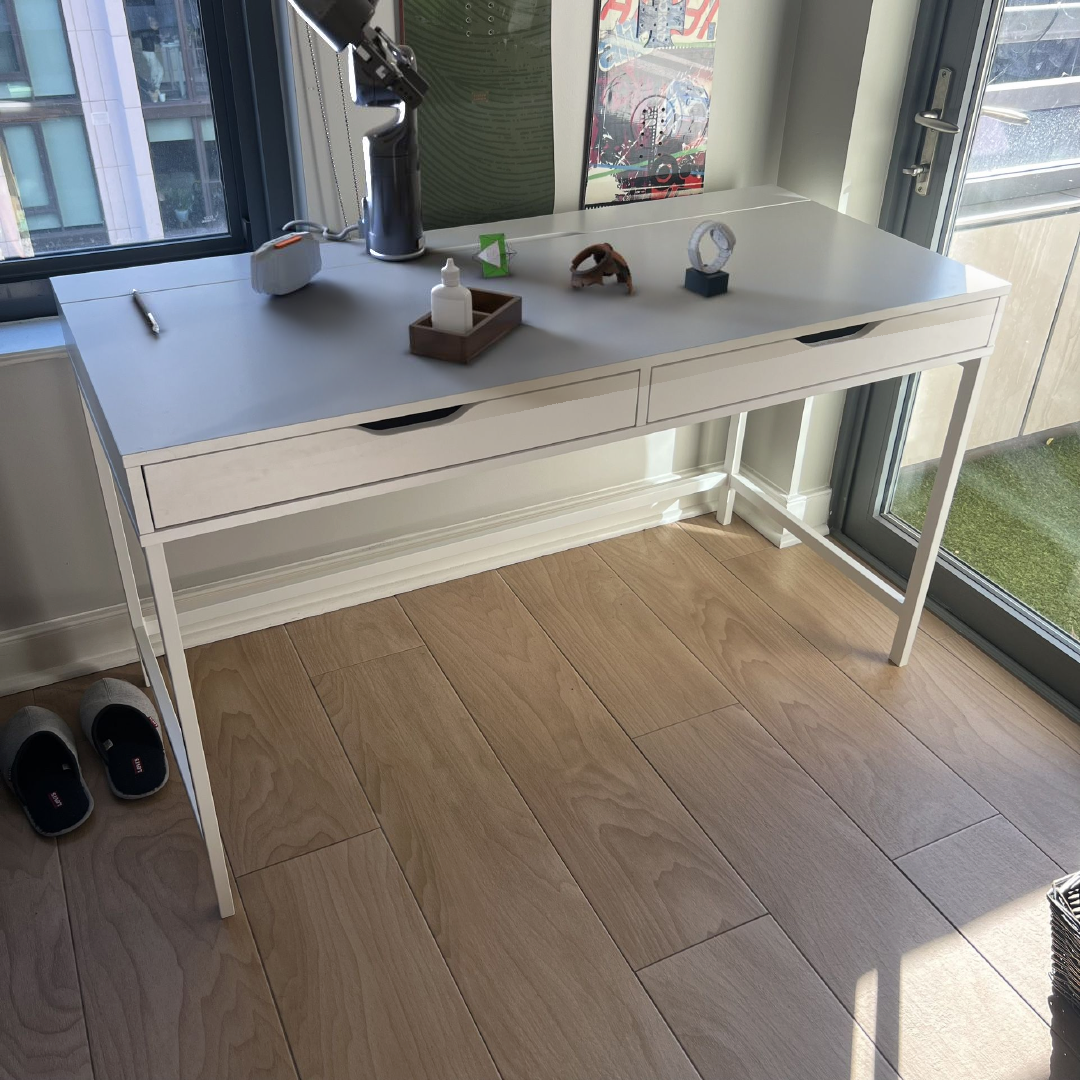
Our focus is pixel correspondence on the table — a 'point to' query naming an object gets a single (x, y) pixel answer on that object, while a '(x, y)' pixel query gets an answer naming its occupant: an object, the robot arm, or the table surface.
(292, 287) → the white plastic case
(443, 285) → the eye dropper bottle
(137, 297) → the pen
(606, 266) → the broken clay pot
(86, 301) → the table surface
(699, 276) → the watch
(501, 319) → the brown wooden divided tray
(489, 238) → the geometric puzzle
